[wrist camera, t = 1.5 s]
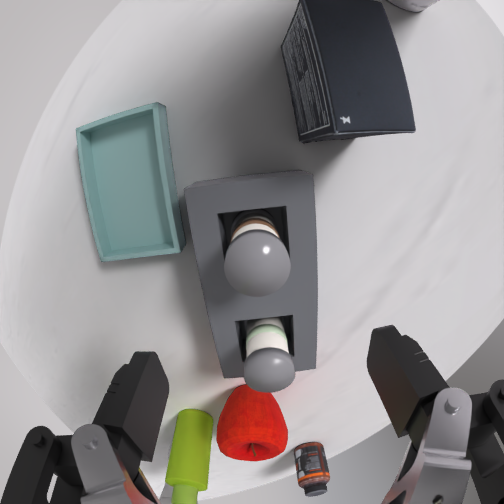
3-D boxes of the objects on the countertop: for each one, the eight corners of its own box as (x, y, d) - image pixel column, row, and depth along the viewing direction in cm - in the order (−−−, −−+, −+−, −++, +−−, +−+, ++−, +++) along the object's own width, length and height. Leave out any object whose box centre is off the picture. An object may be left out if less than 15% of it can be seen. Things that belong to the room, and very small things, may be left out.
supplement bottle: (288, 447, 42) (293, 495, 31) (315, 437, 41) (325, 486, 30) (301, 456, 44) (308, 499, 33) (327, 446, 43) (337, 491, 32)
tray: (88, 129, 22) (75, 128, 20) (165, 106, 22) (157, 102, 20) (111, 253, 27) (101, 262, 25) (186, 243, 27) (180, 252, 25)
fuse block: (195, 182, 25) (165, 199, 16) (300, 170, 25) (332, 180, 15) (226, 349, 32) (221, 413, 23) (307, 340, 32) (325, 402, 22)
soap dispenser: (199, 403, 36) (184, 520, 17) (219, 425, 38) (212, 530, 19) (168, 407, 36) (144, 515, 18) (189, 428, 39) (174, 527, 20)
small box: (361, 138, 24) (421, 135, 14) (298, 144, 24) (332, 138, 14) (341, 43, 20) (385, 0, 10) (278, 45, 20) (296, -9, 10)
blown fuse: (228, 209, 25) (219, 240, 16) (274, 204, 25) (288, 232, 16) (234, 252, 26) (229, 299, 18) (278, 247, 26) (292, 293, 18)
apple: (233, 414, 37) (231, 471, 27) (209, 380, 34) (201, 445, 24) (288, 402, 36) (297, 461, 26) (271, 366, 33) (279, 434, 23)
